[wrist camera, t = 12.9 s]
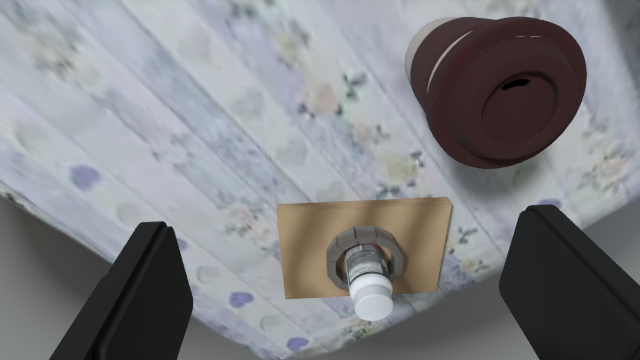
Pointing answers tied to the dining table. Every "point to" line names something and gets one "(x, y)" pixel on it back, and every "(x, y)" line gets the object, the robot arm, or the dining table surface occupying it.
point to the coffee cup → (496, 86)
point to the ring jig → (361, 228)
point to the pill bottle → (369, 281)
